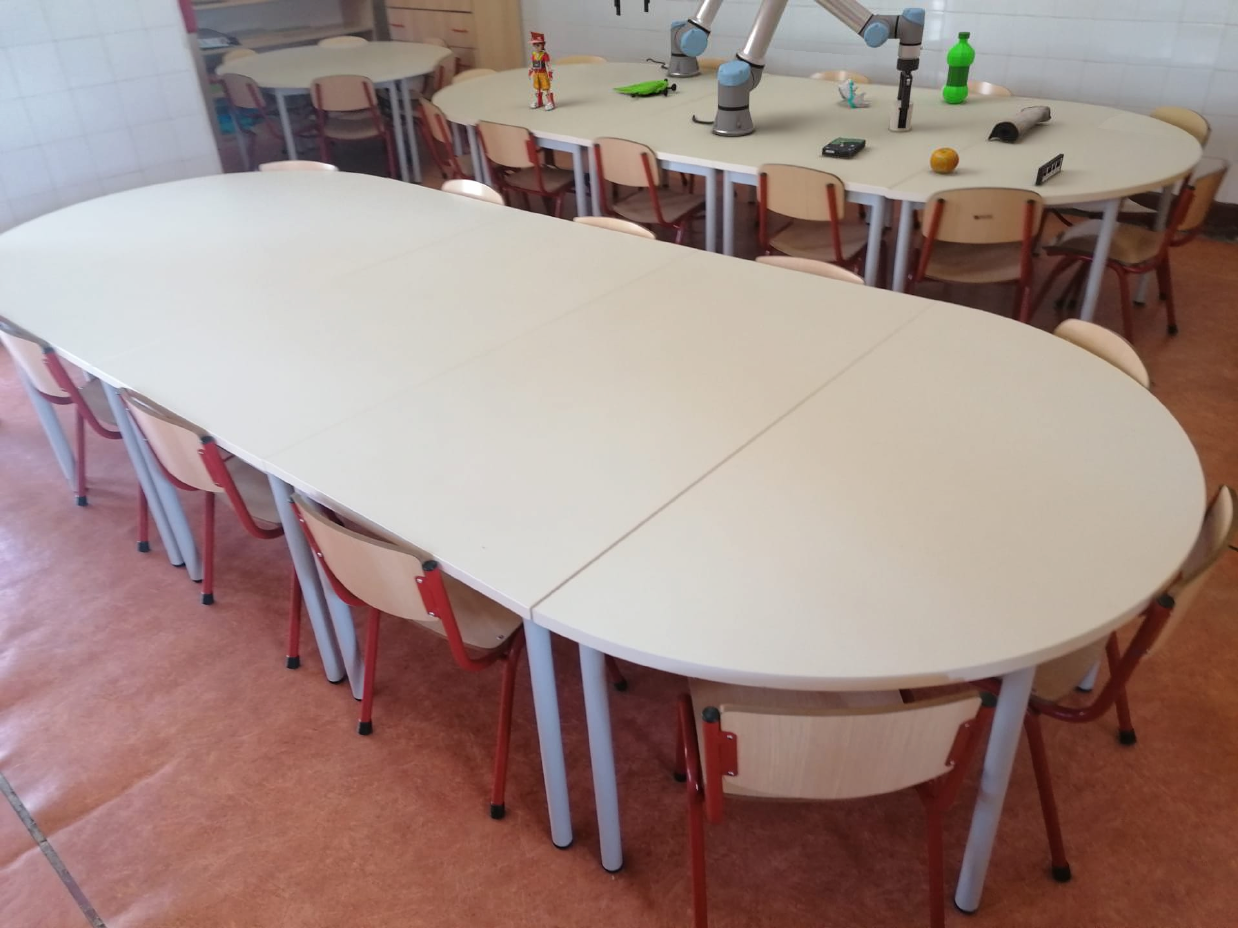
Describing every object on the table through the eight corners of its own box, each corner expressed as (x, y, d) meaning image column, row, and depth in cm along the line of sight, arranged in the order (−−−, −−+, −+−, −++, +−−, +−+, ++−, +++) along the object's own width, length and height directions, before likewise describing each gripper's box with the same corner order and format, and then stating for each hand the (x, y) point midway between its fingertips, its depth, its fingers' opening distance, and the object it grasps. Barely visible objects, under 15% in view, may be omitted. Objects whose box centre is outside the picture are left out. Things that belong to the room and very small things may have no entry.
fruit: (924, 163, 281) (941, 140, 278) (925, 165, 289) (941, 143, 286) (946, 178, 280) (963, 155, 277) (947, 180, 288) (963, 158, 285)
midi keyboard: (1039, 185, 269) (1043, 168, 266) (1035, 184, 270) (1038, 168, 267) (1060, 170, 279) (1064, 154, 277) (1056, 169, 280) (1060, 153, 277)
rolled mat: (1018, 110, 327) (1042, 93, 319) (1032, 131, 328) (1056, 115, 319) (983, 133, 310) (1008, 115, 302) (998, 155, 310) (1023, 138, 302)
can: (914, 128, 327) (917, 102, 322) (902, 132, 323) (906, 106, 318) (896, 125, 332) (900, 99, 327) (885, 129, 328) (888, 103, 323)
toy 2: (686, 85, 398) (631, 84, 414) (685, 72, 395) (629, 72, 411) (651, 104, 381) (596, 103, 397) (650, 92, 378) (594, 91, 394)
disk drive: (850, 159, 300) (865, 147, 310) (851, 151, 299) (866, 139, 309) (821, 156, 305) (836, 144, 315) (821, 148, 303) (837, 136, 313)
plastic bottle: (973, 101, 354) (984, 32, 339) (955, 106, 349) (966, 36, 335) (952, 97, 361) (962, 29, 346) (934, 102, 356) (944, 33, 342)
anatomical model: (833, 78, 362) (858, 71, 361) (836, 104, 368) (860, 97, 367) (844, 86, 350) (869, 79, 349) (846, 113, 356) (871, 106, 355)
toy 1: (525, 109, 381) (517, 32, 364) (534, 104, 388) (527, 28, 371) (550, 110, 377) (543, 32, 360) (559, 105, 384) (553, 28, 367)
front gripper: (923, 63, 305) (914, 132, 318) (916, 51, 321) (907, 118, 334) (900, 63, 306) (892, 132, 319) (894, 52, 323) (887, 118, 336)
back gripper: (608, -39, 372) (610, 18, 384) (661, -44, 381) (661, 11, 393) (600, -40, 378) (603, 15, 390) (652, -45, 386) (653, 9, 398)
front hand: (900, 125), depth 327 cm, fingers closed on can, 7 cm apart
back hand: (632, 14), depth 391 cm, fingers open, 13 cm apart
